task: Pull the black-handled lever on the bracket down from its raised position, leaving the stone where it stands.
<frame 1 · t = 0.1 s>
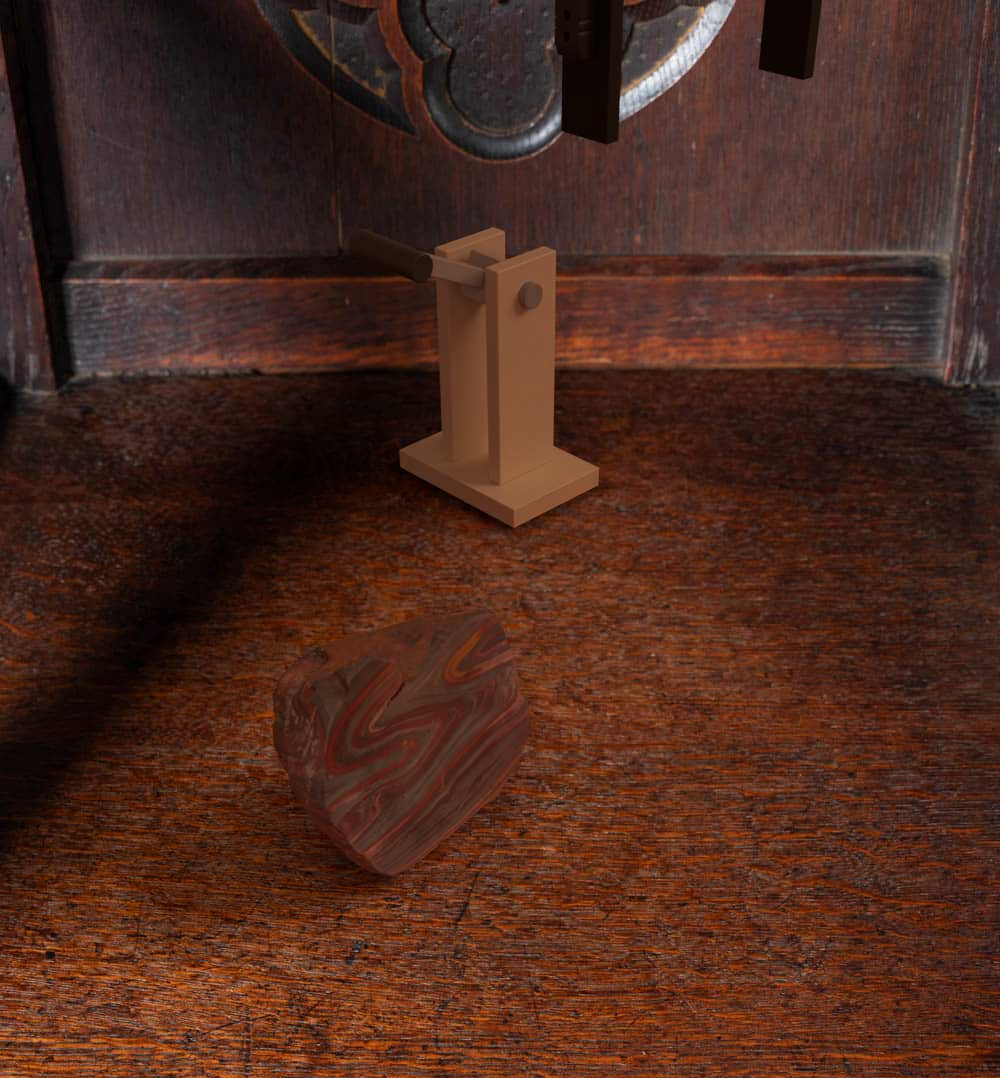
hand: (692, 104, 66), 23 cm above the dresser, tool pointing down, fingers open, 13 cm apart
stone: (383, 809, 64), on the dresser
bracket: (498, 476, 86), on the dresser
lever: (449, 269, 76), point 14 cm above the dresser, hinge at 25.0°
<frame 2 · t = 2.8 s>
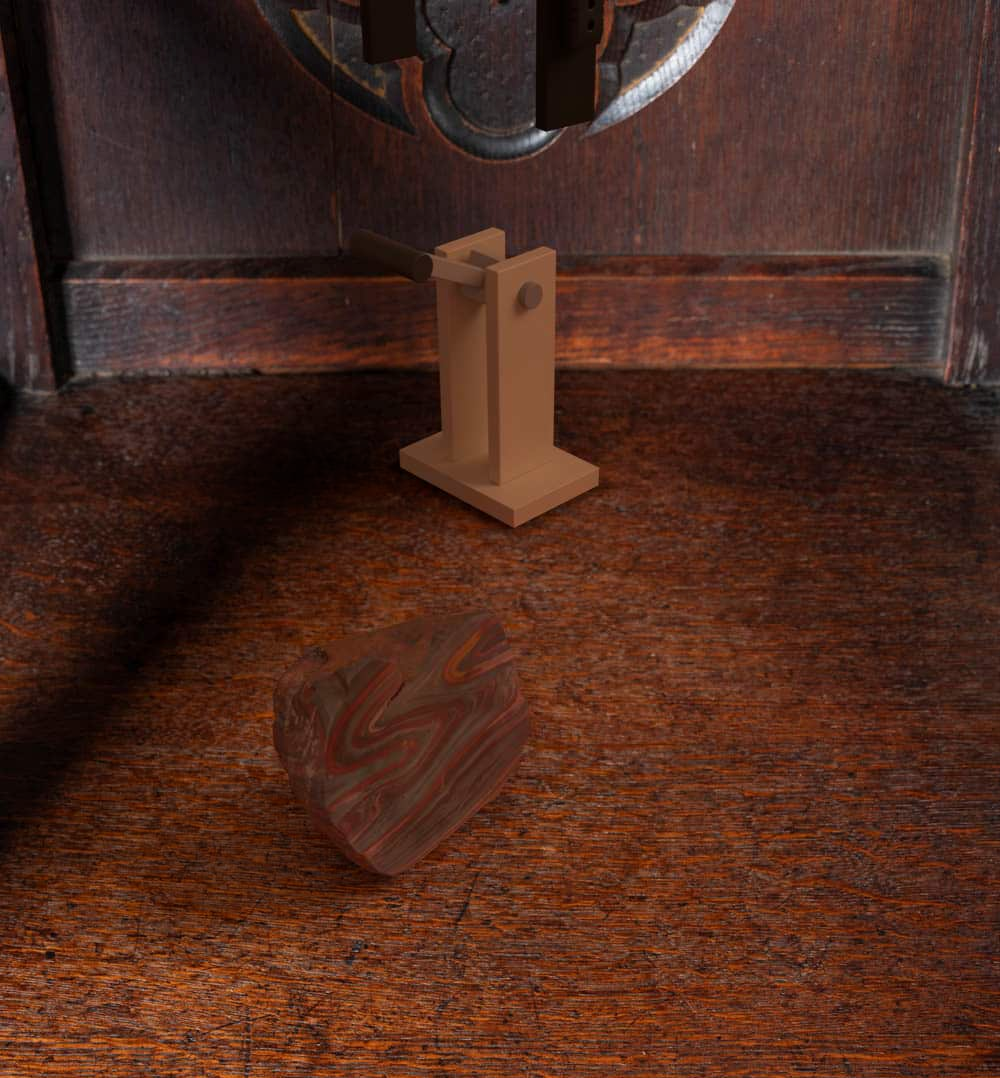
hand: (472, 90, 67), 23 cm above the dresser, tool pointing down, fingers open, 13 cm apart
nothing on the dresser moved.
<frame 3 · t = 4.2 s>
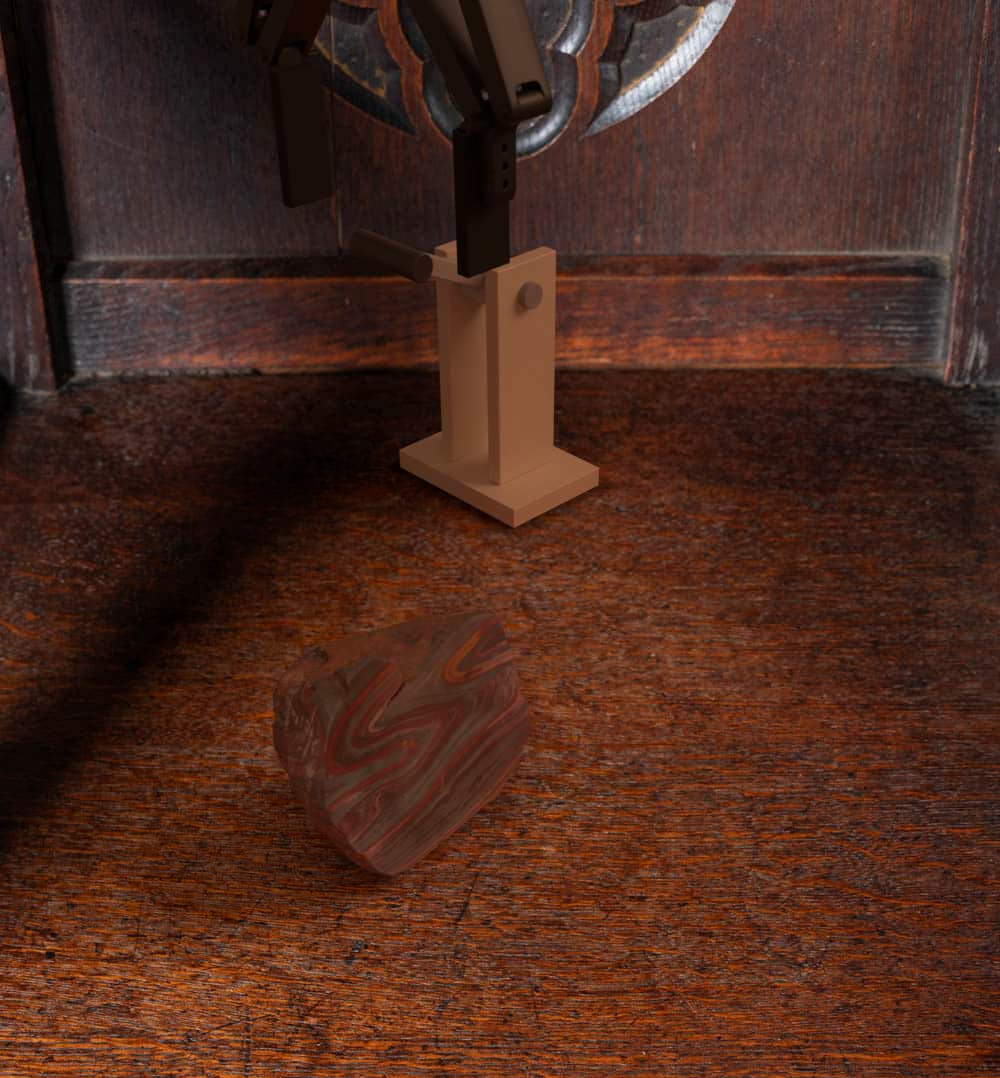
hand: (391, 233, 72), 17 cm above the dresser, tool pointing down, fingers open, 13 cm apart
nothing on the dresser moved.
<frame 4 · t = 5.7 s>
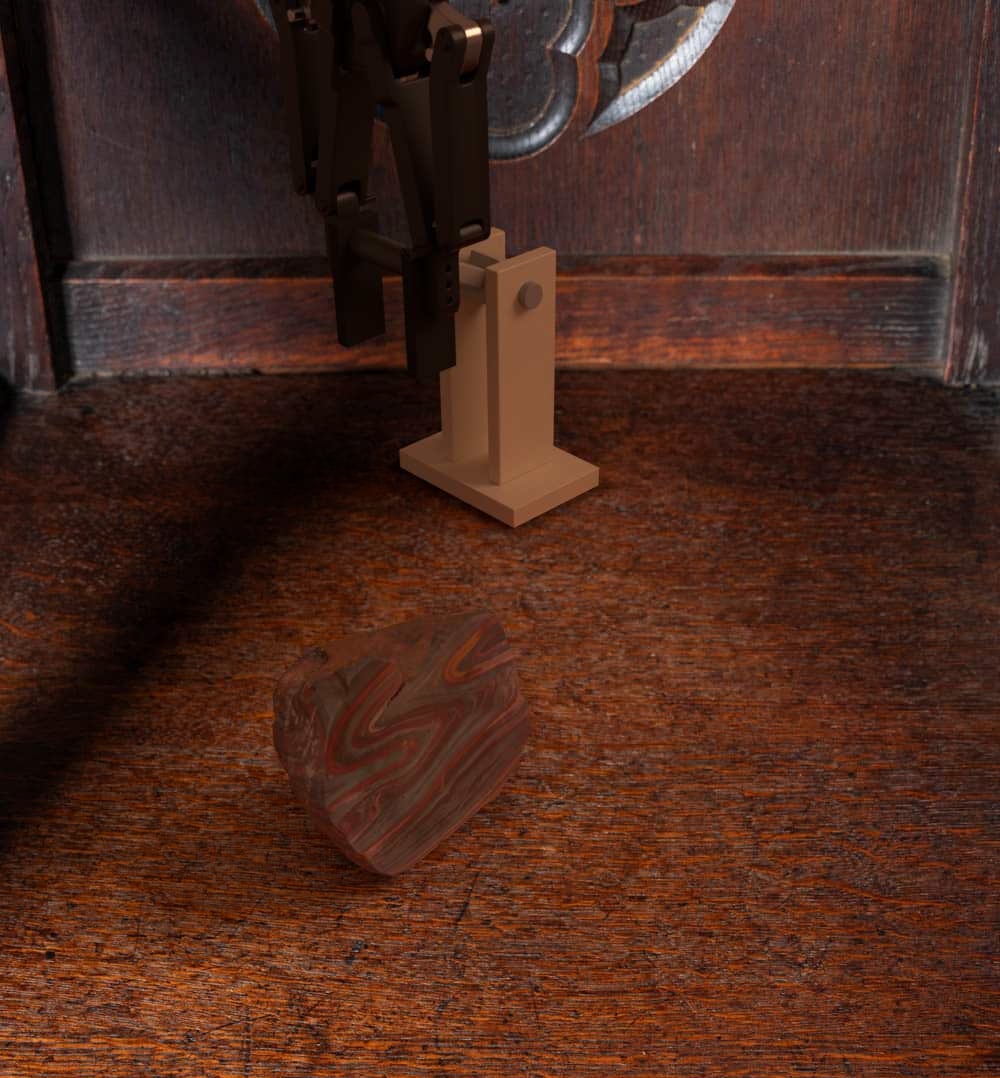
hand: (396, 353, 76), 10 cm above the dresser, tool pointing down, fingers closed on lever, 5 cm apart
lever: (449, 269, 76), point 14 cm above the dresser, hinge at 25.0°, touching gripper
everything else where it was.
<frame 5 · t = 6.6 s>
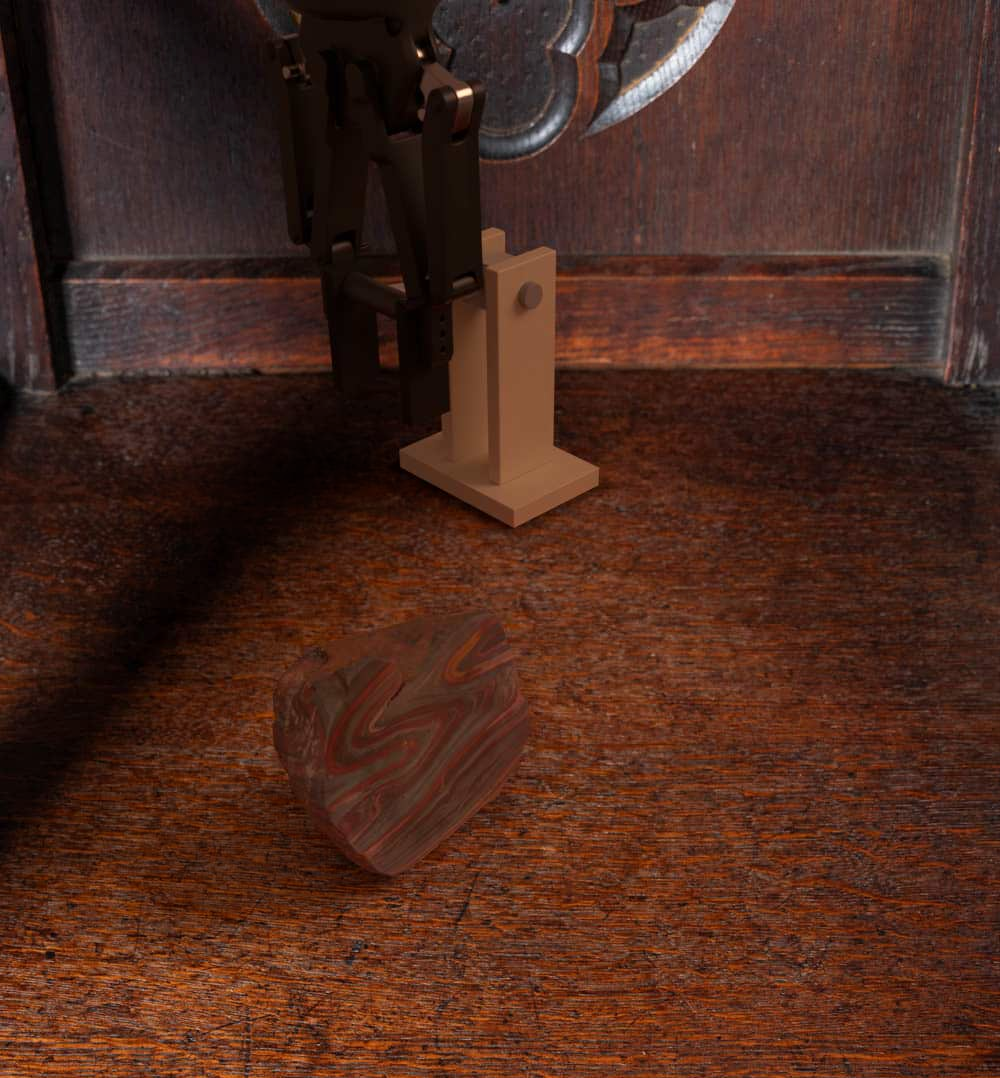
hand: (391, 398, 77), 8 cm above the dresser, tool pointing down, fingers closed on lever, 5 cm apart
lever: (446, 289, 76), point 13 cm above the dresser, hinge at 9.3°, touching gripper
everything else where it was.
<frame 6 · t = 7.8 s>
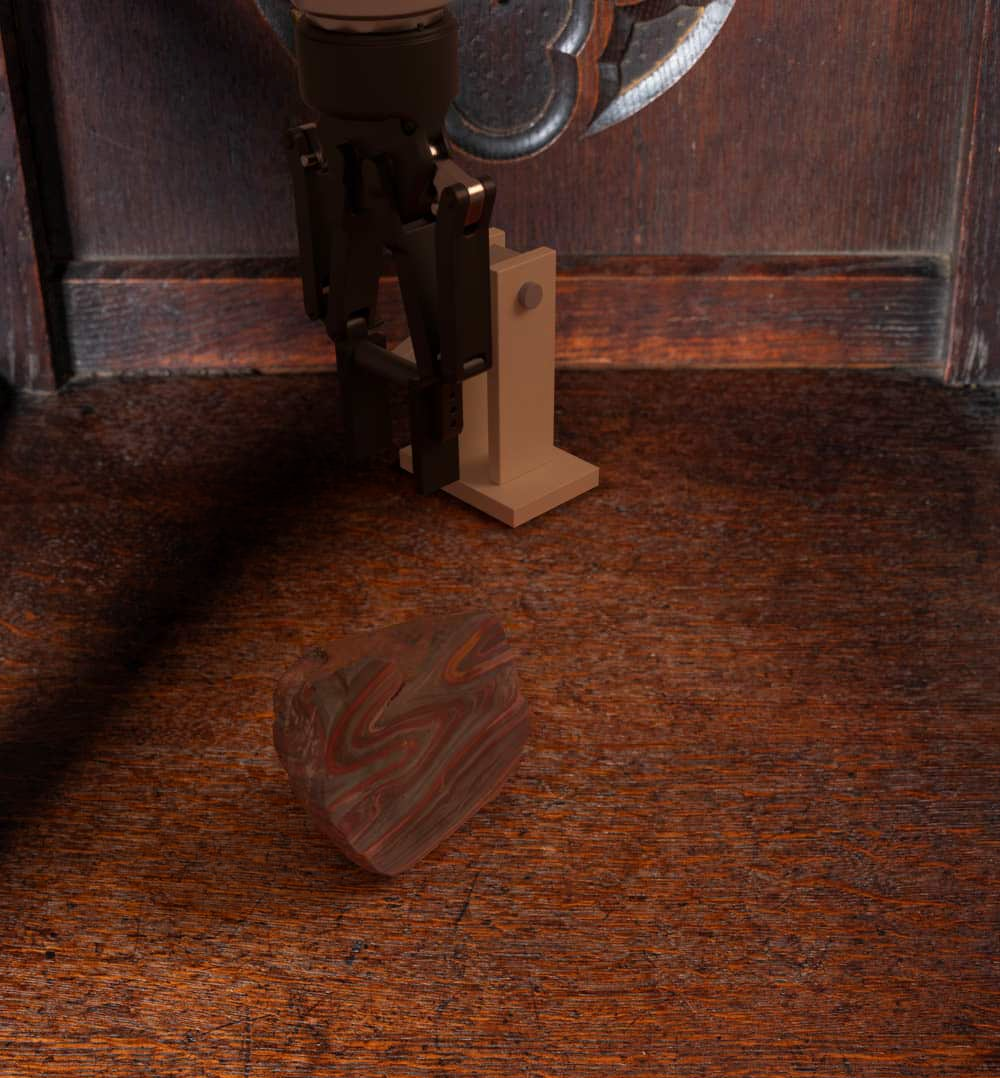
hand: (403, 466, 80), 3 cm above the dresser, tool pointing down, fingers closed on lever, 5 cm apart
lever: (449, 320, 78), point 11 cm above the dresser, hinge at -18.9°, touching gripper
everything else where it was.
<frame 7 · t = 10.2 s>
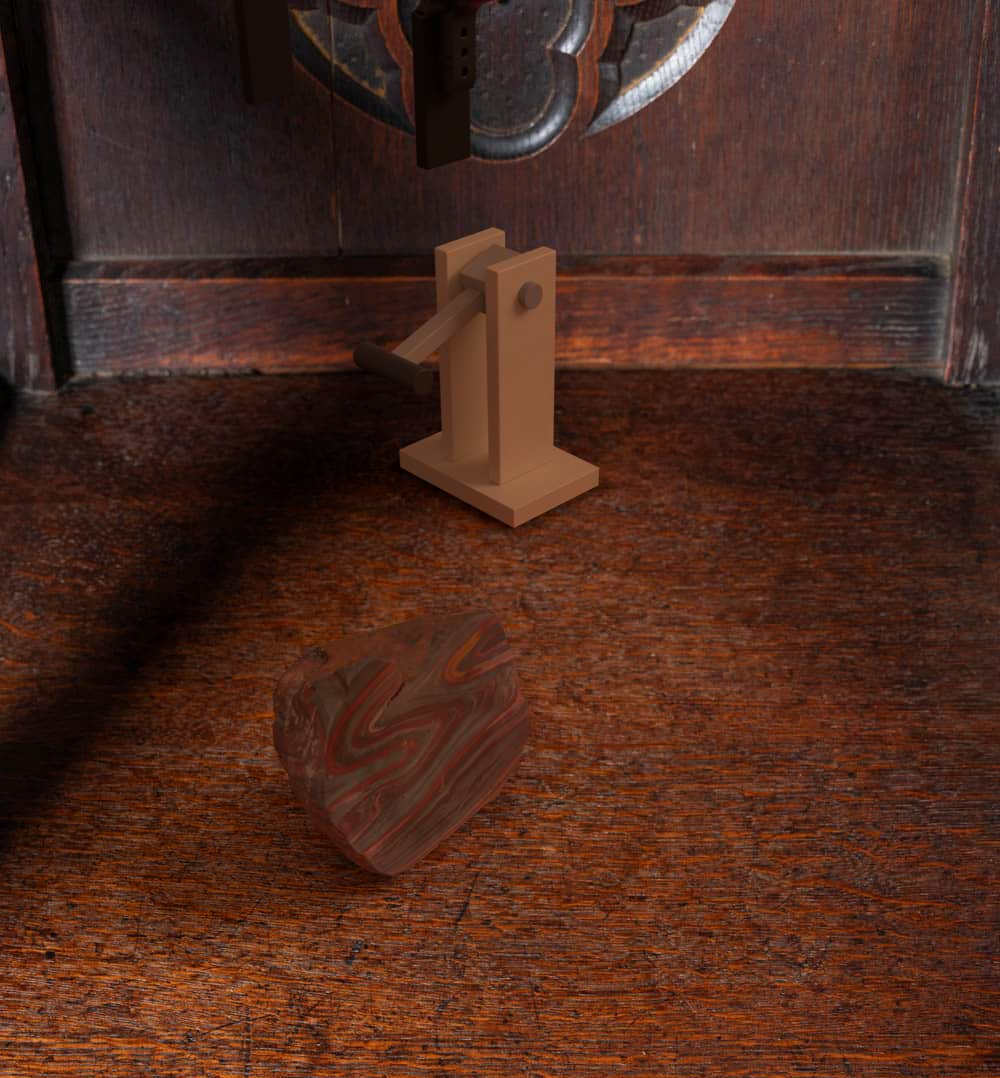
hand: (352, 129, 71), 21 cm above the dresser, tool pointing down, fingers open, 13 cm apart
lever: (449, 320, 78), point 11 cm above the dresser, hinge at -19.0°
everything else where it was.
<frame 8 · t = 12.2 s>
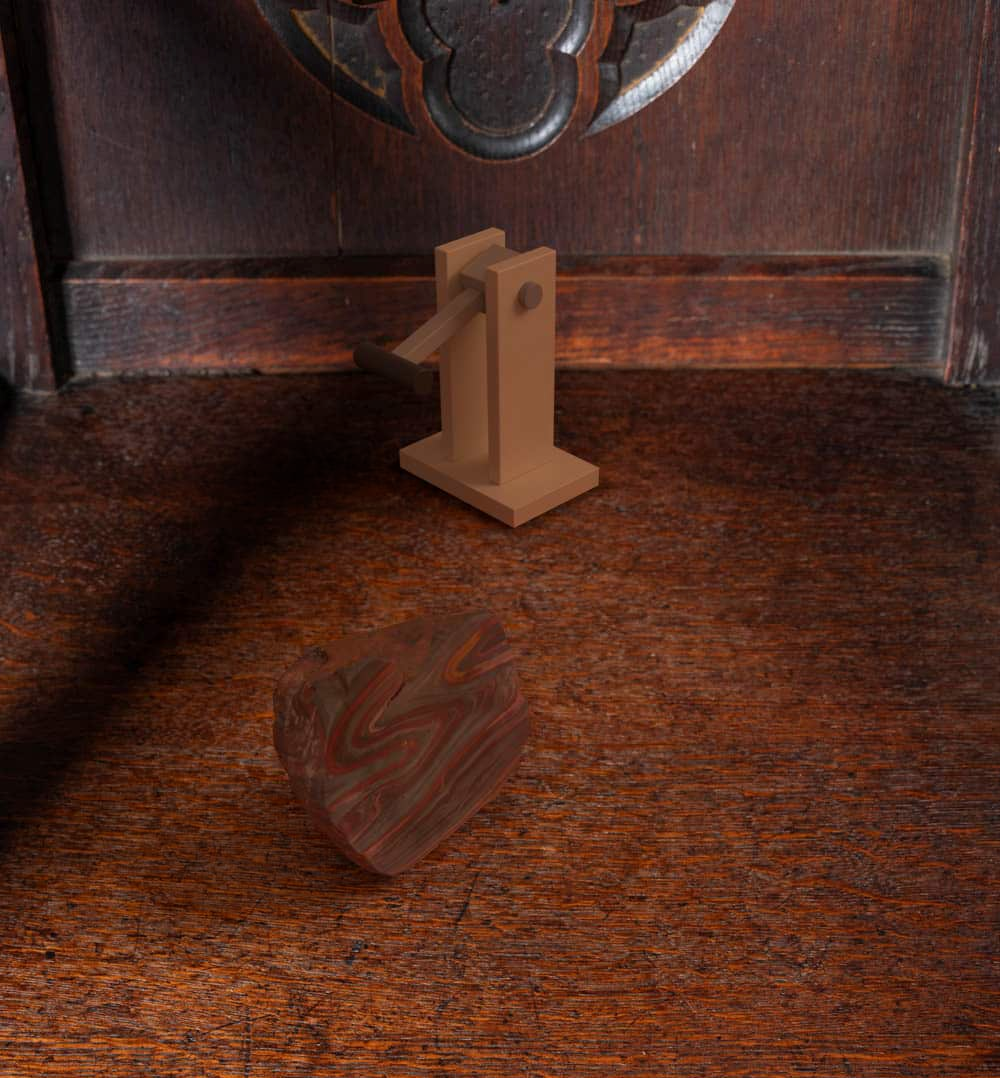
nothing on the dresser moved.
at the end: lever at -19° (first picture: +25°); stone moved 0.2 cm from its start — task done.
